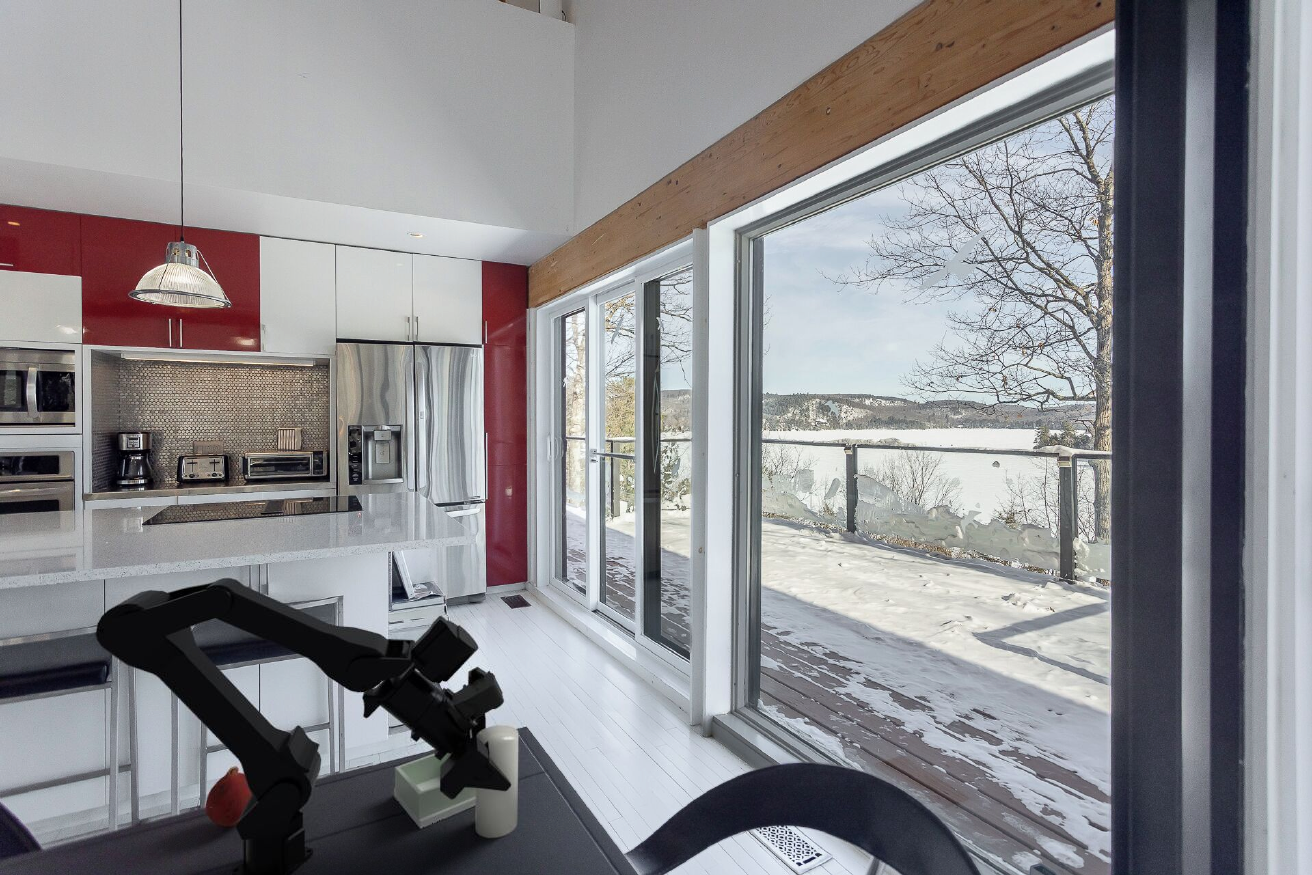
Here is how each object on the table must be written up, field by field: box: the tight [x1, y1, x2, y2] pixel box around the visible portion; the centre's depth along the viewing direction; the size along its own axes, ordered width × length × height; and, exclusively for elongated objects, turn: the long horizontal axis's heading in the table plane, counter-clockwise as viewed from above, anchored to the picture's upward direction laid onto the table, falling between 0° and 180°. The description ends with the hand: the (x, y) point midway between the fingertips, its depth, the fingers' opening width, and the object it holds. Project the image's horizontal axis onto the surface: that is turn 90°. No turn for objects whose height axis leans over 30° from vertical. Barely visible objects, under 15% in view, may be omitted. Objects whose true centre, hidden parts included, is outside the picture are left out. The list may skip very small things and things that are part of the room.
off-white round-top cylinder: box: [474, 724, 519, 839], centre depth 87 cm, size 6×6×12 cm
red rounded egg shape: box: [205, 765, 252, 827], centre depth 86 cm, size 6×6×8 cm
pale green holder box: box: [393, 753, 476, 829], centre depth 94 cm, size 13×10×5 cm
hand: (507, 775), depth 88 cm, fingers closed on off-white round-top cylinder, 6 cm apart
